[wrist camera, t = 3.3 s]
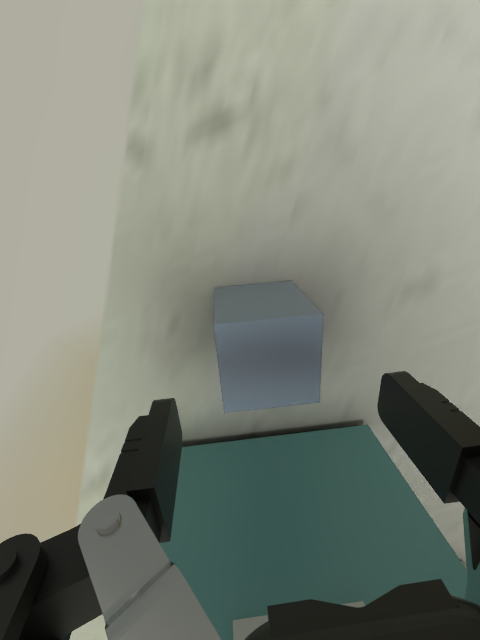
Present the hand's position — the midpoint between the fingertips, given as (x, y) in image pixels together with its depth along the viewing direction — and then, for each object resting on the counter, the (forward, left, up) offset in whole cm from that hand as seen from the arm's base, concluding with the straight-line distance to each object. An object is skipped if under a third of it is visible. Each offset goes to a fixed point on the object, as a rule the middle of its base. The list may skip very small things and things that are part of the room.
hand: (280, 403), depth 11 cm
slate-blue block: (0, 0, -9) cm, 9 cm away
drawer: (0, +17, -8) cm, 19 cm away
